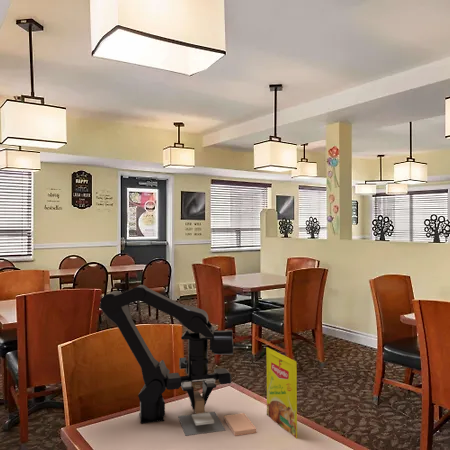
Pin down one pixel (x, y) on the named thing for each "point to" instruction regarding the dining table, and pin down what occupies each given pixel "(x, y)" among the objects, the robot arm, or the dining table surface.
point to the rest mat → (194, 429)
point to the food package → (282, 390)
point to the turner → (200, 411)
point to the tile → (240, 424)
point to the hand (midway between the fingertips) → (198, 408)
